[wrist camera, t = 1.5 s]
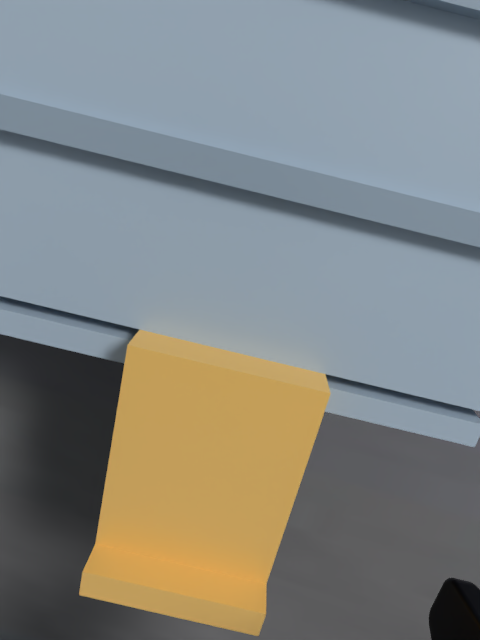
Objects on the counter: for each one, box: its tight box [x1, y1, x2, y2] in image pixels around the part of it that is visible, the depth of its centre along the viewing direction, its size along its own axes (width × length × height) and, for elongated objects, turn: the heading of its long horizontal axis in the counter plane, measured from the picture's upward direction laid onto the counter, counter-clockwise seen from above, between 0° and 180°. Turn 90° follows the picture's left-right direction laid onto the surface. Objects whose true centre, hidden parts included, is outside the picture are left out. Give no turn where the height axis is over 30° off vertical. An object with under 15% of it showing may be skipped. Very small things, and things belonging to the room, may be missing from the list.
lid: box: [0, 0, 480, 636], centre depth 7 cm, size 17×11×3 cm, turn 167°
